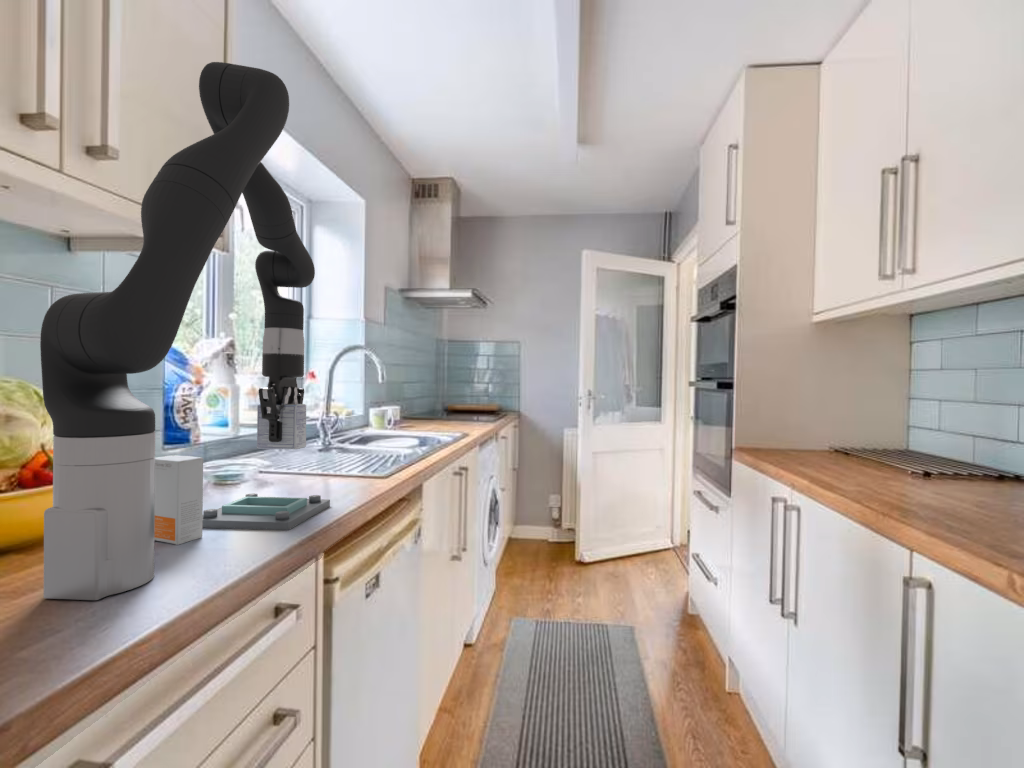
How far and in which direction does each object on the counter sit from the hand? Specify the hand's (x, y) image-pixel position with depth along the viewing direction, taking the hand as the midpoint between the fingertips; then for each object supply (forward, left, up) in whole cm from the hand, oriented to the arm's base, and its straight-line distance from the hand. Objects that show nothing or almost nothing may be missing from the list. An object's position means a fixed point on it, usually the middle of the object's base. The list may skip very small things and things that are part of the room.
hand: (281, 440), depth 103 cm
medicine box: (0, 0, -2) cm, 2 cm away
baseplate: (-12, -3, -12) cm, 17 cm away
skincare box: (-26, +3, -12) cm, 29 cm away
